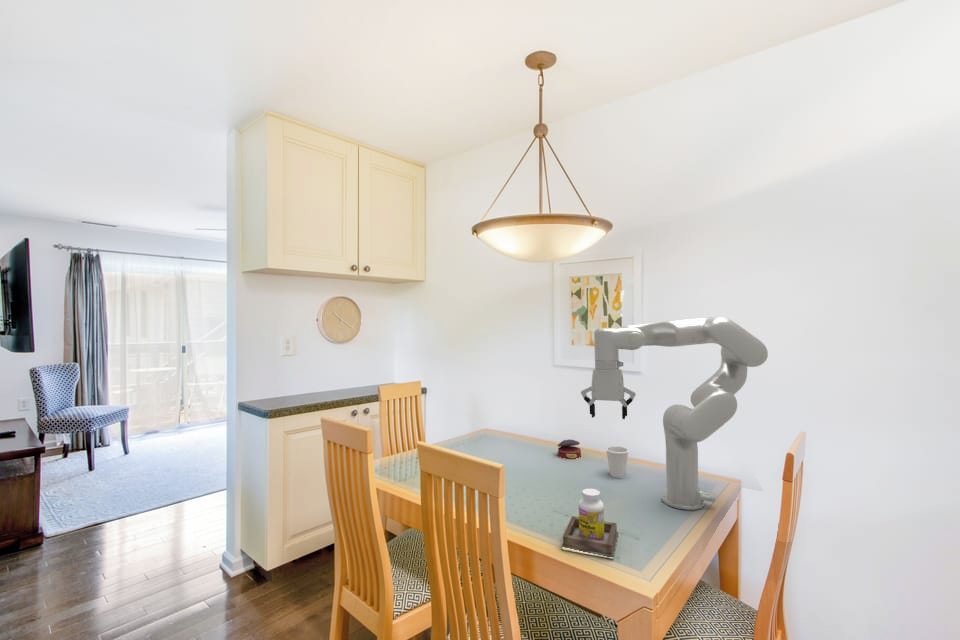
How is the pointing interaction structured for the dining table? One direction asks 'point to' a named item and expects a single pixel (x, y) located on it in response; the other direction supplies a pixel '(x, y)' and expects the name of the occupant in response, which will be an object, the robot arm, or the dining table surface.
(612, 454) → the dixie cup
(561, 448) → the canned food
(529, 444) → the dining table surface
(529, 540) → the dining table surface
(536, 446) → the dining table surface
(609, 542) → the shallow square brown tray
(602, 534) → the supplement bottle
